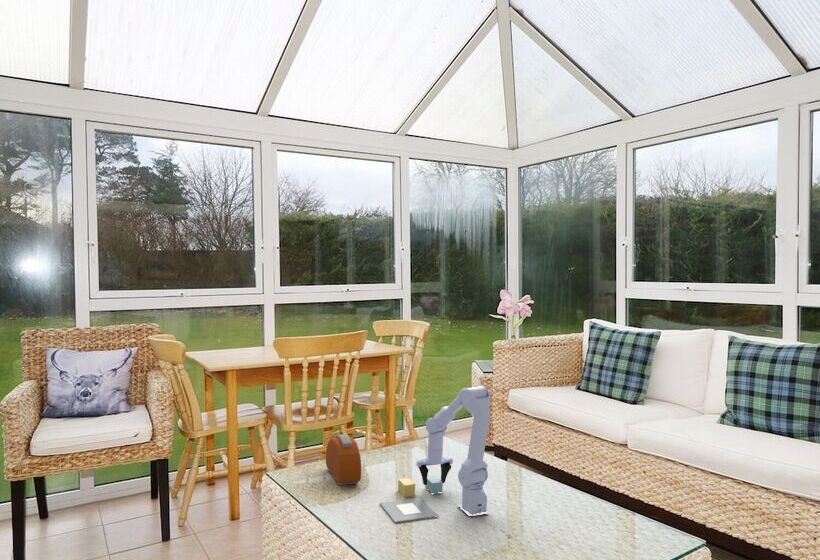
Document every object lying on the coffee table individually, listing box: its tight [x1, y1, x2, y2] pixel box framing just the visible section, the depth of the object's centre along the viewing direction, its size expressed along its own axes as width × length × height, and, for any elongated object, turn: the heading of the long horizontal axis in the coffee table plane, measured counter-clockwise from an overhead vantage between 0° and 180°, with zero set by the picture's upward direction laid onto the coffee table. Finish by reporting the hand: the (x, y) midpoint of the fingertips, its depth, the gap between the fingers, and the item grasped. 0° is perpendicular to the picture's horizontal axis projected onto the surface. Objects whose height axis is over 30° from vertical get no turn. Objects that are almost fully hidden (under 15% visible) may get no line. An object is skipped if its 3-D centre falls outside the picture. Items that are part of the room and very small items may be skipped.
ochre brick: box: [397, 477, 416, 498], centre depth 217 cm, size 6×4×4 cm
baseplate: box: [379, 497, 439, 524], centre depth 202 cm, size 16×16×1 cm
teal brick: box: [424, 475, 444, 494], centre depth 220 cm, size 6×4×4 cm
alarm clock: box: [325, 434, 362, 486], centre depth 232 cm, size 23×9×17 cm, turn 22°
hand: (433, 483), depth 220 cm, fingers open, 7 cm apart
